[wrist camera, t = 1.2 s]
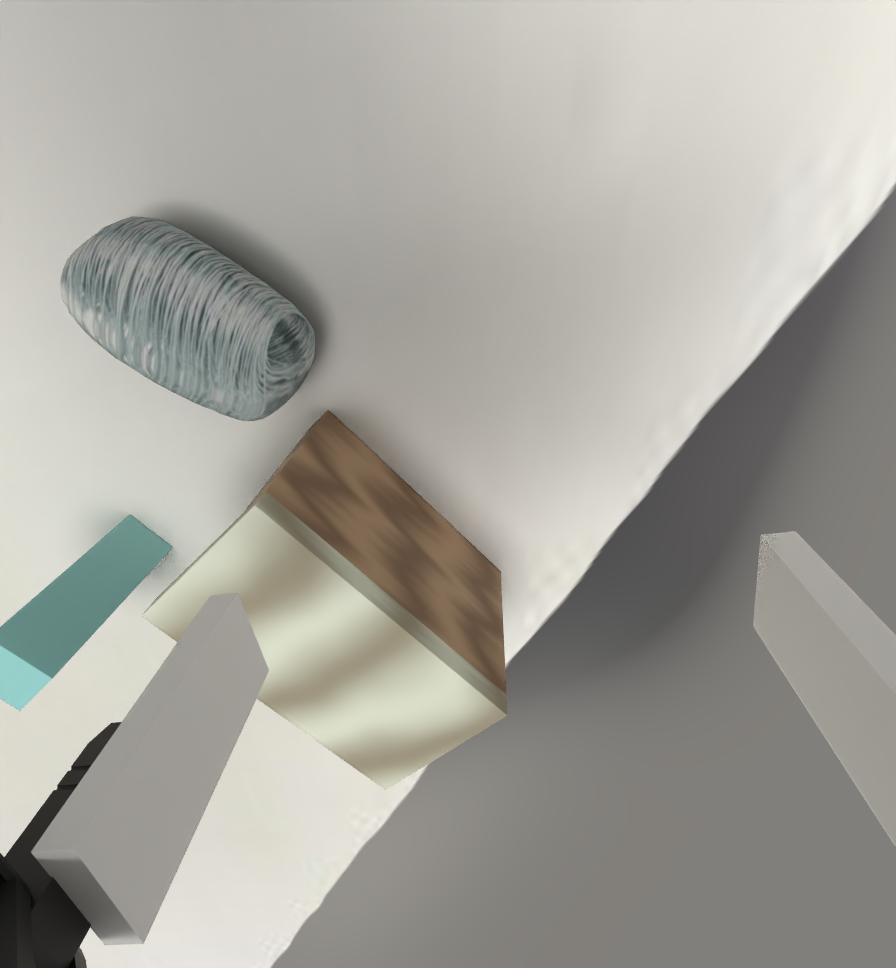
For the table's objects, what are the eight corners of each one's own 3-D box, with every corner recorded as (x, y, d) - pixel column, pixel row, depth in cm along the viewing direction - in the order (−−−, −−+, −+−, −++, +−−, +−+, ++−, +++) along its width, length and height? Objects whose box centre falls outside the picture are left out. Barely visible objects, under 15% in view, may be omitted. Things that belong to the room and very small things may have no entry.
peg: (103, 543, 45) (-43, 672, 33) (130, 514, 44) (-13, 637, 31) (145, 574, 46) (20, 710, 34) (172, 547, 45) (52, 678, 32)
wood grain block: (242, 495, 42) (141, 616, 30) (328, 410, 39) (254, 505, 26) (411, 636, 48) (385, 789, 35) (500, 571, 44) (507, 715, 32)
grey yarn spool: (363, 312, 33) (233, 390, 26) (318, 405, 40) (209, 485, 34) (189, 151, 33) (16, 191, 26) (176, 275, 40) (38, 330, 33)
